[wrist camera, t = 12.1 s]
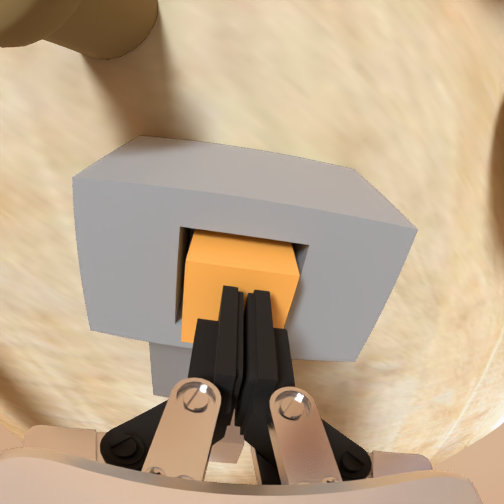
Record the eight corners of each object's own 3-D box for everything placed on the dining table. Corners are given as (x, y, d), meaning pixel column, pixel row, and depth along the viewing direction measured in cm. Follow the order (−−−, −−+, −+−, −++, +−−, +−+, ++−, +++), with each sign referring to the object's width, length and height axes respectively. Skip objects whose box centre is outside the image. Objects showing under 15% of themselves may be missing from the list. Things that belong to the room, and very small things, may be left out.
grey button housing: (135, 245, 22) (90, 330, 15) (140, 135, 18) (72, 177, 11) (330, 271, 24) (364, 361, 16) (362, 171, 20) (428, 231, 12)
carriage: (163, 352, 25) (139, 463, 16) (163, 275, 22) (121, 403, 12) (268, 365, 26) (276, 477, 17) (291, 292, 22) (315, 423, 13)
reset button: (192, 285, 16) (181, 341, 13) (199, 214, 14) (185, 260, 11) (269, 295, 17) (275, 352, 13) (286, 226, 15) (299, 275, 11)
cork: (175, 22, 15) (101, -34, 5) (97, 77, 16) (-23, 93, 7) (132, -39, 12) (46, -108, 3) (59, 17, 14) (-58, 2, 4)
